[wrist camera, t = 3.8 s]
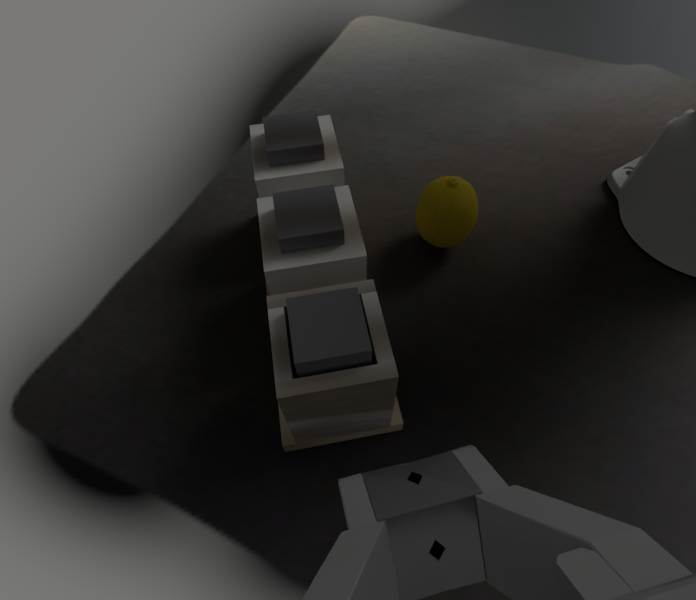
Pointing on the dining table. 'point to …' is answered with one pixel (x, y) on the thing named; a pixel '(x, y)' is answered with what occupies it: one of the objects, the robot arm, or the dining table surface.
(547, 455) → the dining table surface
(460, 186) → the lemon
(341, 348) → the plain button
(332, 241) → the button panel
